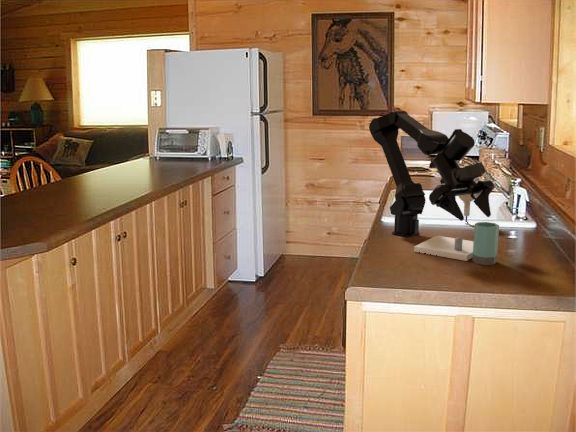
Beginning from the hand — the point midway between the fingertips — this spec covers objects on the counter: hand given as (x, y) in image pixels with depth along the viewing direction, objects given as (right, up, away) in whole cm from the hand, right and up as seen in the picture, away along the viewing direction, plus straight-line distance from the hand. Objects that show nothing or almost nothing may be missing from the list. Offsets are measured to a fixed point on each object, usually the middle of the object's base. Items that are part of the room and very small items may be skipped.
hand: (476, 218), depth 163 cm
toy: (+9, -2, +41) cm, 42 cm away
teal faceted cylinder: (+2, -11, -1) cm, 12 cm away
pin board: (-4, -9, +10) cm, 14 cm away
